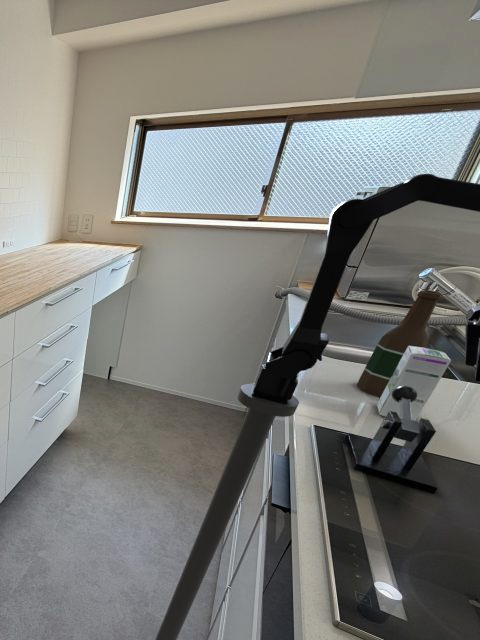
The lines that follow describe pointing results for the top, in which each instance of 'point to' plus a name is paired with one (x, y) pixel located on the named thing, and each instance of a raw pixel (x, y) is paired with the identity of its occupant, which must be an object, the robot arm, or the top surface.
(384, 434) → the black two-post stand
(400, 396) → the lever
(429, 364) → the syrup box
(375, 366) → the beer bottle
